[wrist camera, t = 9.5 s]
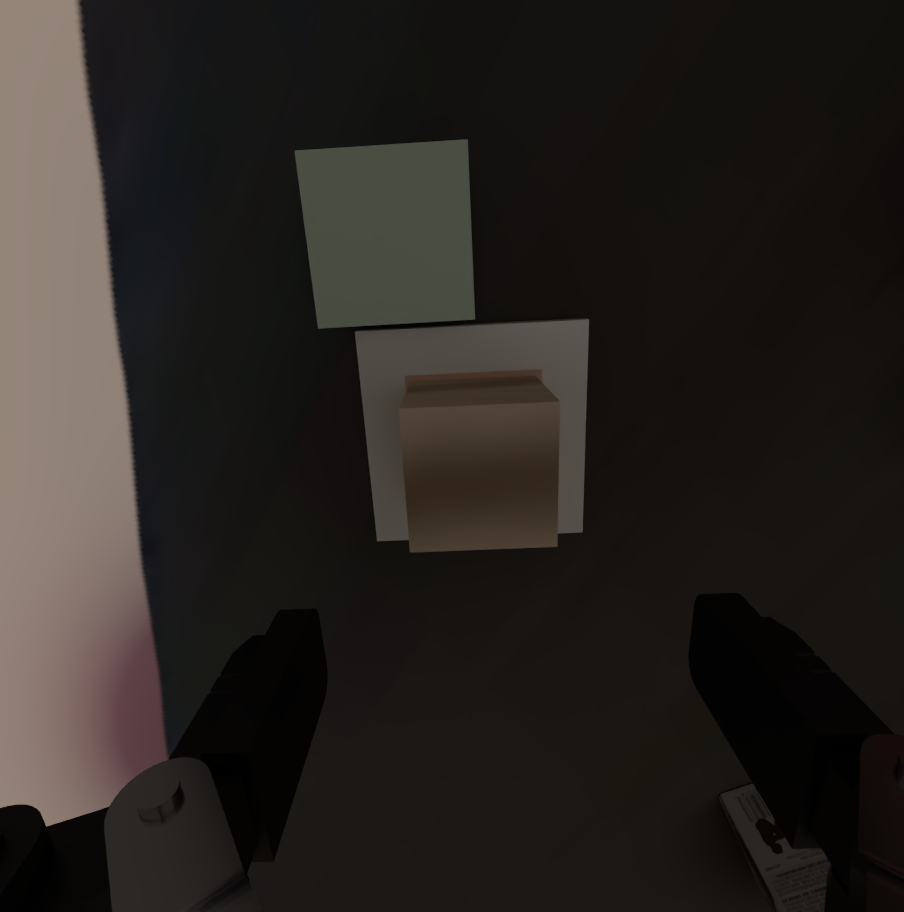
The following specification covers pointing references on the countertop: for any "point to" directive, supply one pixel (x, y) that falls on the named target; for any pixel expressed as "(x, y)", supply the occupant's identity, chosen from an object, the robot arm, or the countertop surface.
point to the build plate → (468, 357)
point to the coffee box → (776, 855)
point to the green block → (388, 233)
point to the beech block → (480, 463)
